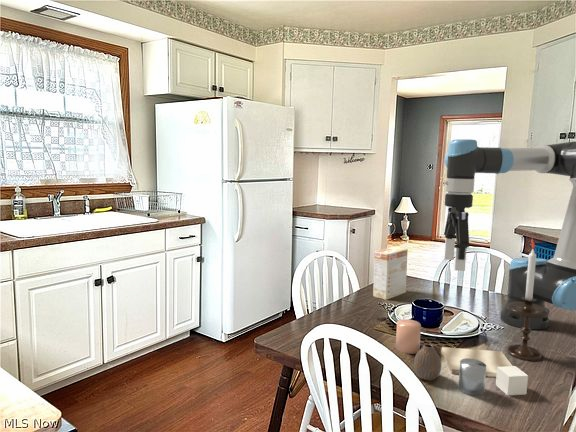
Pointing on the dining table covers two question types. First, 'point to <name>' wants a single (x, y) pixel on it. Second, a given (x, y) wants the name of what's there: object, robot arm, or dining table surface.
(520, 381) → the cream block
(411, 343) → the pink pillar candle
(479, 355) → the birch board
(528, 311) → the candlestick
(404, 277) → the coffeecake box
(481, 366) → the grey tin
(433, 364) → the vase
